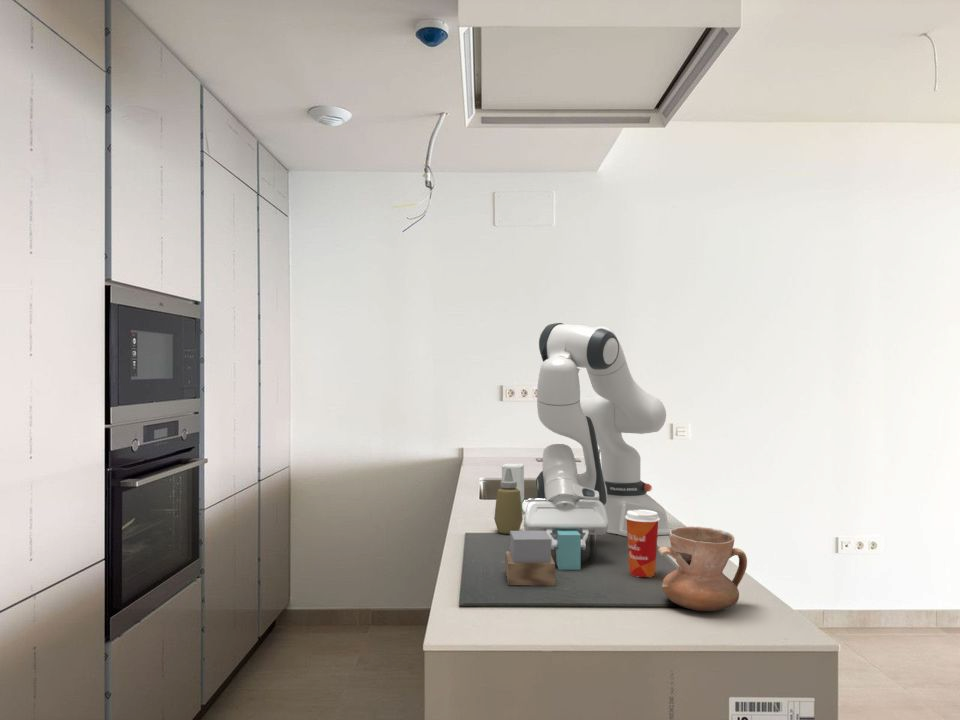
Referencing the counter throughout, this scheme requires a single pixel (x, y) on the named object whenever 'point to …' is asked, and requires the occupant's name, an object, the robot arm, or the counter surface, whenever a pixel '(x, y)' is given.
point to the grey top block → (530, 547)
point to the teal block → (568, 549)
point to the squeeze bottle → (508, 506)
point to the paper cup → (642, 541)
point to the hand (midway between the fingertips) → (568, 548)
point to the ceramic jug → (702, 569)
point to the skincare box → (516, 477)
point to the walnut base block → (529, 572)
